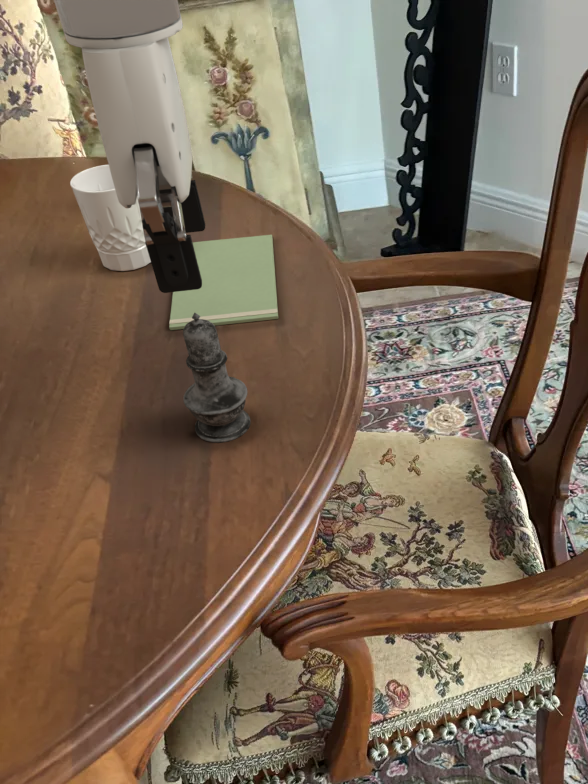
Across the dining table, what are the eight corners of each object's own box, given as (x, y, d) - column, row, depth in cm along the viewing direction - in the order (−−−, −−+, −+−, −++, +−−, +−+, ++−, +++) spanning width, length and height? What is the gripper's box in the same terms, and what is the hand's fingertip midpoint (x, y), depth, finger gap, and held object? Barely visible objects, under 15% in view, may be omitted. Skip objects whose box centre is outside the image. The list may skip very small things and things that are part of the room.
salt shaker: (205, 403, 77) (176, 292, 69) (262, 409, 76) (239, 297, 68) (182, 440, 73) (148, 328, 65) (241, 447, 73) (214, 334, 64)
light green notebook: (169, 330, 87) (168, 326, 86) (178, 246, 100) (177, 242, 100) (278, 319, 88) (277, 315, 87) (272, 237, 101) (271, 233, 101)
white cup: (107, 244, 101) (82, 164, 94) (167, 243, 101) (146, 163, 94) (89, 274, 96) (60, 192, 89) (152, 273, 96) (129, 191, 88)
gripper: (77, -20, 56) (145, 216, 68) (35, 51, 44) (127, 321, 56) (183, -29, 56) (232, 207, 69) (170, 38, 44) (231, 309, 57)
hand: (184, 258), depth 63 cm, fingers open, 9 cm apart
